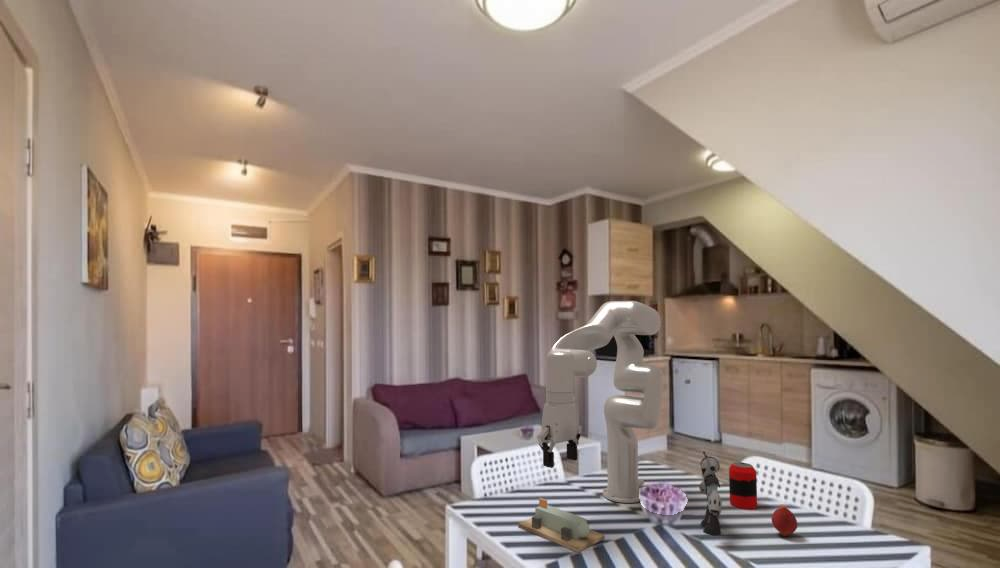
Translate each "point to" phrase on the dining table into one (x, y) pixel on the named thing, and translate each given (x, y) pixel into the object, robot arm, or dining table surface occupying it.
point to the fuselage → (561, 520)
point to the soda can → (743, 485)
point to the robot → (711, 495)
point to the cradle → (560, 535)
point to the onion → (784, 521)
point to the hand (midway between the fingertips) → (560, 463)
